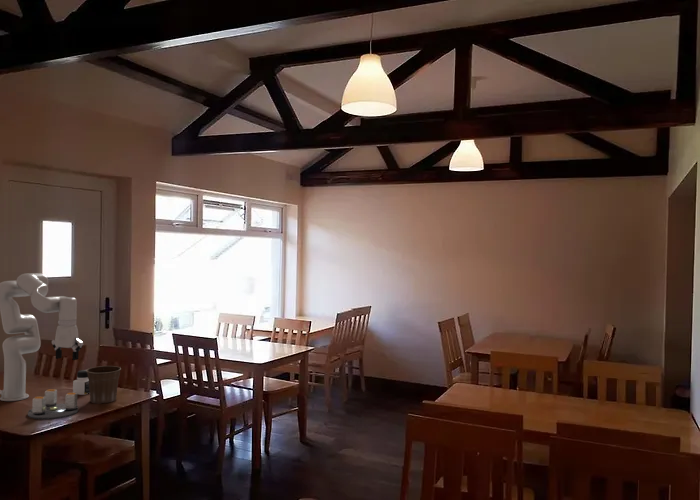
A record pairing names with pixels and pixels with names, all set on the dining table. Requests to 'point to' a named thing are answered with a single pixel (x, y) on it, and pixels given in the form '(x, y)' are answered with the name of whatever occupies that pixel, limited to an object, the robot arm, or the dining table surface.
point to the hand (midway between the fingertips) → (67, 359)
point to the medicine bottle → (81, 383)
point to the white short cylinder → (71, 401)
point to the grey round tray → (53, 412)
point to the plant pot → (103, 383)
